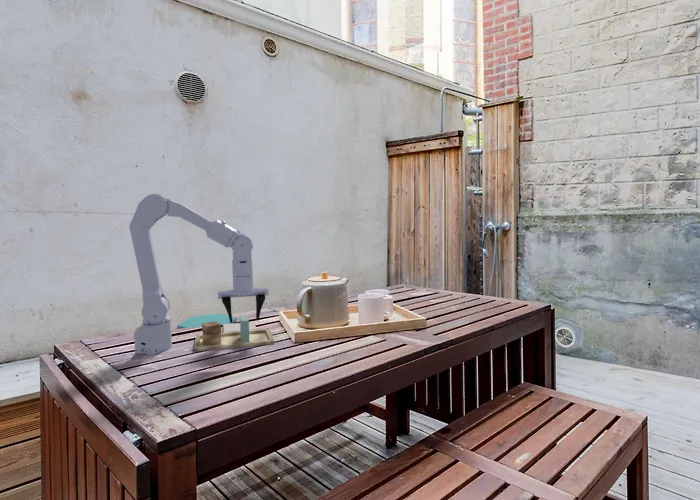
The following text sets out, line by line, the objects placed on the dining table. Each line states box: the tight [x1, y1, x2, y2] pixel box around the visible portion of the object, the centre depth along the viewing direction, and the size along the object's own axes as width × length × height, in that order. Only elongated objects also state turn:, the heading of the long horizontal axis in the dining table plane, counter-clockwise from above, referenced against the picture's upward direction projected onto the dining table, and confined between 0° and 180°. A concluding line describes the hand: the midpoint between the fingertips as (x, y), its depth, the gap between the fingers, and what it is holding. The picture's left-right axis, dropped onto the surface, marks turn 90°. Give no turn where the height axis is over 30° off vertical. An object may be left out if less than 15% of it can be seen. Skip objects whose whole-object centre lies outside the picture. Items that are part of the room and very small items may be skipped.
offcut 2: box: [202, 332, 222, 346], centre depth 128 cm, size 5×5×3 cm
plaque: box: [176, 312, 238, 329], centre depth 154 cm, size 17×2×20 cm
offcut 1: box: [201, 321, 222, 335], centre depth 128 cm, size 4×5×2 cm
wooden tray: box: [193, 328, 276, 352], centre depth 130 cm, size 22×14×2 cm, turn 107°
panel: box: [239, 314, 250, 343], centre depth 131 cm, size 2×7×6 cm, turn 16°
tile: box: [222, 321, 257, 333], centre depth 143 cm, size 10×10×2 cm
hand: (244, 320), depth 131 cm, fingers open, 7 cm apart
